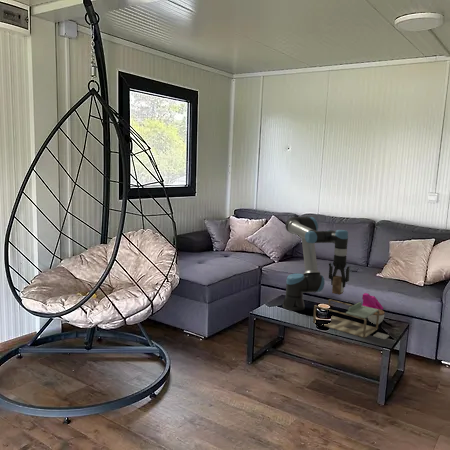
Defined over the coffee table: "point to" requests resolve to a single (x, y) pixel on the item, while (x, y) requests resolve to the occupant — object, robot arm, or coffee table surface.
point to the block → (337, 285)
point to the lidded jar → (373, 317)
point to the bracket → (371, 301)
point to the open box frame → (348, 323)
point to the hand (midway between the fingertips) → (337, 291)
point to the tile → (381, 335)
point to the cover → (361, 310)
